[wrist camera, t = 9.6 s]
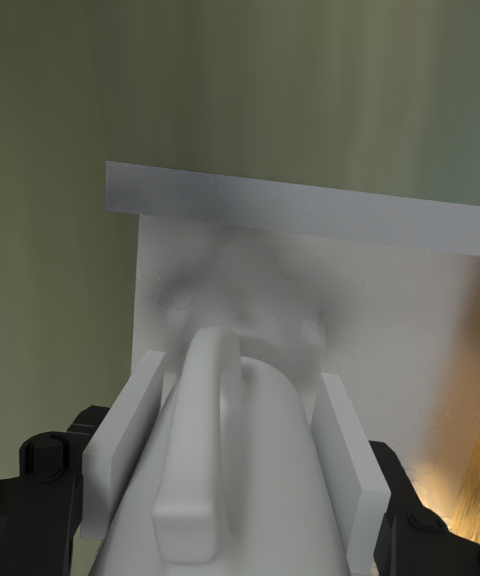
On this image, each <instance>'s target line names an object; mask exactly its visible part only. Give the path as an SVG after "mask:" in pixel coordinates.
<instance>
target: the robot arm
mask: <svg viewBox="0 0 480 576" xmlns="http://www.w3.org/2000/svg"><path fill="white" fill-rule="evenodd" d="M165 353H166V352H159V351H151V350H147V352H146V353H145V355H144V356H143V358H142V359H141V361H140V363H139V364H138V366H137V367H136V369H135V371H134V372H133V374H132V375H131V377H130V379H129V380H128V382H127V383H126V385H125V386H124V388H123V390H122V391H121V393H120V394H119V396H118V398H117V399H116V401H115V402H114V404H113V405H112V407H111V408H108V407H100V406H93V405H92V406H90V407H89V408H87V409H86V410H84V411H82V412H81V413H80V414H79V415H78V416H77V418H76V419H75V420H74V422H73V424H71V426H70V427H69V428H68V430H67V432H65V433H63V432H53V431H51V432H45V433H40V434H38V435H35V436H33V437H31V438H29V439H28V440H27V441H25V442H24V443H23V444H22V446H21V447H20V449H19V464H20V476H19V477H15V478H10V479H2V480H0V576H70V574H71V564H72V554H73V536H74V534H75V532H76V530H77V528H78V526H79V524H80V522H81V525H80V538H88V539H95V540H103V541H104V538H105V536H106V534H107V532H108V529H109V527H110V525H111V523H112V520H113V518H114V516H115V514H116V511H117V509H118V507H119V504H120V502H121V500H122V498H123V495H124V493H125V491H126V489H127V486H128V484H129V482H130V480H131V477H132V475H133V473H134V470H135V468H136V466H137V464H138V461H139V459H140V457H141V454H142V452H143V450H144V447H145V445H146V443H147V441H148V438H149V436H150V434H151V431H152V429H153V427H154V424H155V422H156V420H157V418H158V415H159V413H160V410H161V400H162V388H163V376H164V365H165ZM310 430H311V433H312V436H313V439H314V442H315V446H316V449H317V453H318V457H319V461H320V464H321V468H322V472H323V476H324V479H325V483H326V487H327V490H328V494H329V497H330V501H331V505H332V508H333V512H334V515H335V519H336V523H337V526H338V530H339V533H340V537H341V541H342V544H343V548H344V551H345V555H346V559H347V562H348V566H349V569H350V572H351V573H359V574H366V575H369V574H370V570H371V567H372V563H373V559H374V560H375V564H376V567H377V570H378V573H379V575H378V576H480V544H479V543H476V542H473V541H471V540H468V539H465V538H463V537H460V536H458V535H455V534H453V533H451V532H449V530H448V527H447V525H446V523H445V522H444V521H443V520H442V518H441V517H440V516H439V515H437V514H436V513H435V512H433V511H432V510H431V509H429V508H427V507H425V506H423V504H422V502H421V501H420V499H419V497H418V495H417V493H416V491H415V489H414V487H413V485H412V483H411V482H410V480H409V478H408V476H407V475H406V472H405V470H404V468H403V466H401V463H400V461H399V459H398V457H397V455H396V453H395V452H394V451H393V450H392V449H391V448H390V447H389V446H388V445H387V444H386V443H385V442H378V441H371V440H368V439H367V437H366V435H365V433H364V430H363V428H362V426H361V424H360V421H359V419H358V417H357V415H356V412H355V410H354V408H353V406H352V404H351V401H350V399H349V397H348V395H347V392H346V390H345V388H344V386H343V383H342V381H341V379H340V377H339V375H336V374H328V373H321V374H320V379H319V384H318V389H317V394H316V399H315V404H314V409H313V415H312V420H311V425H310Z"/></svg>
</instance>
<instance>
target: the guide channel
mask: <svg viewBox="0 0 480 576" xmlns="http://www.w3.org/2000/svg"><path fill="white" fill-rule="evenodd" d="M105 210H107V211H115V212H124V213H132V214H139V231H138V250H137V268H136V287H135V306H134V325H133V344H132V363H131V375H132V374H133V372H134V371H135V369H136V367H137V366H138V364H139V363H140V361H141V359H142V358H143V356H144V355H145V353H146V352H147V350H151V351H159V352H166V353H165V365H164V376H163V388H162V400H161V410H162V408H163V405H164V403H165V401H166V399H167V396H168V394H169V392H170V391H171V389H172V387H173V386H174V384H175V383H176V382H177V380H178V379H179V378H180V377H181V374H182V370H183V366H184V362H185V359H186V355H187V352H188V349H189V346H190V344H191V342H192V340H193V338H194V336H195V334H196V333H197V331H198V330H200V329H201V328H204V327H210V326H218V327H223V328H228V329H231V330H234V331H235V332H236V334H237V335H238V339H239V344H240V356H244V357H249V358H254V359H257V360H260V361H262V362H265V363H267V364H269V365H271V366H273V367H274V368H276V369H277V370H279V371H280V372H281V373H282V374H283V375H285V376H286V377H287V378H288V379H289V381H290V382H291V383H292V384H293V386H294V387H295V388H296V390H297V392H298V394H299V396H300V398H301V400H302V403H303V406H304V410H305V413H306V417H307V420H308V424H309V427H310V425H311V420H312V415H313V409H314V404H315V399H316V394H317V389H318V384H319V379H320V374H321V373H328V374H336V375H339V377H340V379H341V381H342V383H343V386H344V388H345V390H346V392H347V395H348V397H349V399H350V401H351V404H352V406H353V408H354V410H355V412H356V415H357V417H358V419H359V421H360V424H361V426H362V428H363V430H364V433H365V435H366V437H367V439H368V440H371V441H378V442H385V443H386V444H387V445H388V446H389V447H390V448H391V449H392V450H393V451H394V452H395V453H396V455H397V457H398V459H399V461H400V463H401V466H403V468H404V470H405V472H406V475H407V476H408V478H409V480H410V482H411V483H412V485H413V487H414V489H415V491H416V493H417V495H418V497H419V499H420V501H421V502H422V504H423V506H425V507H427V508H429V509H431V510H432V511H433V512H435V513H436V514H437V515H439V516H440V517H441V518H442V520H443V521H444V522H445V523H446V525H447V527H448V530H449V532H451V533H453V534H455V535H458V536H460V537H463V538H465V539H468V540H471V541H473V542H476V543H479V544H480V207H479V206H471V205H463V204H455V203H447V202H439V201H431V200H422V199H414V198H406V197H398V196H390V195H382V194H374V193H365V192H357V191H349V190H341V189H333V188H325V187H317V186H308V185H300V184H292V183H284V182H276V181H268V180H260V179H251V178H243V177H235V176H227V175H219V174H211V173H203V172H194V171H186V170H178V169H170V168H162V167H154V166H146V165H137V164H129V163H121V162H113V161H106V179H105ZM161 410H160V412H161ZM159 414H160V413H159ZM158 416H159V415H158ZM102 543H103V540H102V541H101V543H100V546H99V548H98V550H97V553H96V555H95V557H94V561H95V559H96V557H97V554H98V552H99V550H100V547H101V545H102ZM350 573H351V572H350ZM378 575H379V573H378V570H377V567H376V564H375V560H374V559H373V563H372V567H371V570H370V574H369V575H366V574H359V573H351V576H378Z"/></svg>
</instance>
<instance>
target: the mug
mask: <svg viewBox="0 0 480 576" xmlns="http://www.w3.org/2000/svg"><path fill="white" fill-rule="evenodd" d="M88 576H351V573H350V569H349V566H348V562H347V559H346V555H345V551H344V548H343V544H342V541H341V537H340V533H339V530H338V526H337V523H336V519H335V515H334V512H333V508H332V505H331V501H330V497H329V494H328V490H327V487H326V483H325V479H324V476H323V472H322V468H321V464H320V461H319V457H318V453H317V449H316V446H315V442H314V439H313V436H312V433H311V430H310V427H309V424H308V420H307V417H306V413H305V410H304V406H303V403H302V400H301V398H300V396H299V394H298V392H297V390H296V388H295V387H294V386H293V384H292V383H291V382H290V381H289V379H288V378H287V377H286V376H285V375H283V374H282V373H281V372H280V371H279V370H277V369H276V368H274V367H273V366H271V365H269V364H267V363H265V362H262V361H260V360H257V359H254V358H249V357H244V356H240V344H239V339H238V335H237V334H236V332H235V331H234V330H231V329H228V328H223V327H218V326H210V327H204V328H201V329H200V330H198V331H197V333H196V334H195V336H194V338H193V340H192V342H191V344H190V346H189V349H188V352H187V355H186V359H185V362H184V366H183V370H182V374H181V377H180V378H179V379H178V380H177V382H176V383H175V384H174V386H173V387H172V389H171V391H170V392H169V394H168V396H167V399H166V401H165V403H164V405H163V408H162V410H161V412H160V414H159V416H158V418H157V420H156V422H155V424H154V427H153V429H152V431H151V434H150V436H149V438H148V441H147V443H146V445H145V447H144V450H143V452H142V454H141V457H140V459H139V461H138V464H137V466H136V468H135V470H134V473H133V475H132V477H131V480H130V482H129V484H128V486H127V489H126V491H125V493H124V495H123V498H122V500H121V502H120V504H119V507H118V509H117V511H116V514H115V516H114V518H113V520H112V523H111V525H110V527H109V529H108V532H107V534H106V536H105V538H104V541H103V543H102V545H101V547H100V550H99V552H98V554H97V557H96V559H95V561H94V563H93V566H92V568H91V570H90V572H89V575H88Z"/></svg>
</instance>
